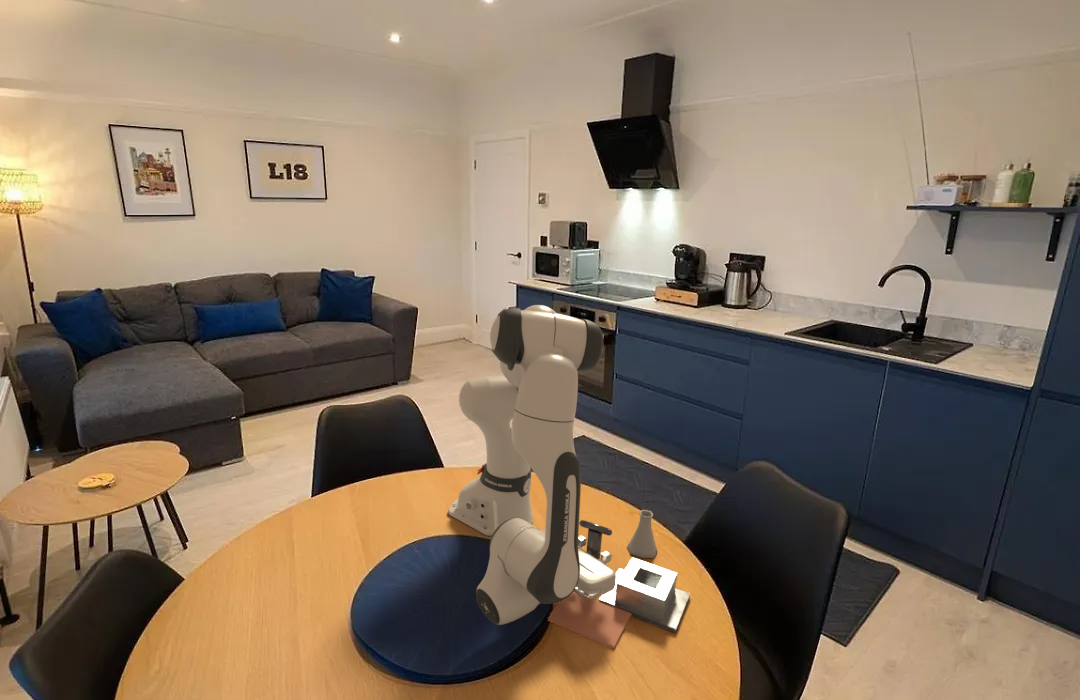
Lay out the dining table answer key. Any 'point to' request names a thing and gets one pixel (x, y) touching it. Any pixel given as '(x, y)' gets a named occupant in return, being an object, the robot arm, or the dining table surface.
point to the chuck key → (594, 537)
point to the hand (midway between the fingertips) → (596, 547)
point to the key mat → (591, 619)
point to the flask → (643, 537)
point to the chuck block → (648, 594)
